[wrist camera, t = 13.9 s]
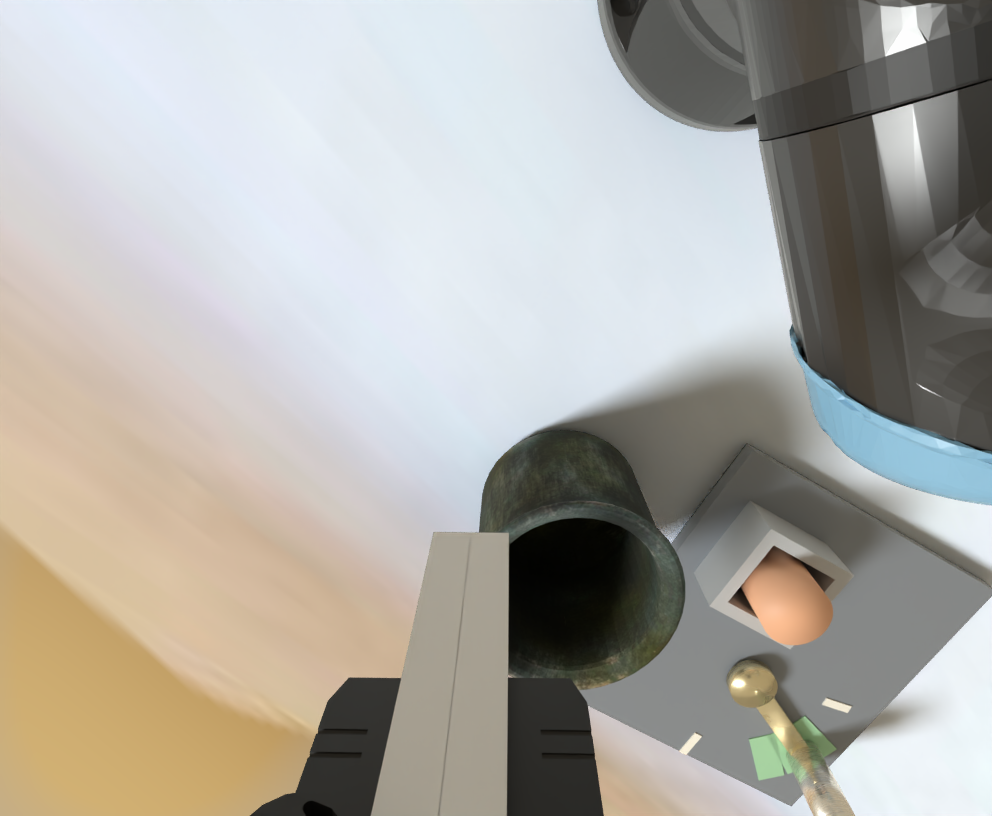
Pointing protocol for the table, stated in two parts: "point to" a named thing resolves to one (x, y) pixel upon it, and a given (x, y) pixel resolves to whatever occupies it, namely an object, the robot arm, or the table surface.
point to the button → (787, 599)
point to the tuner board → (797, 668)
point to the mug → (580, 561)
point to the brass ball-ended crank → (788, 738)
